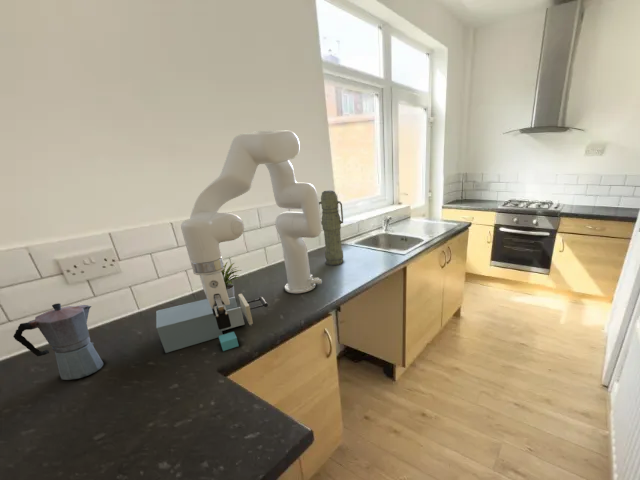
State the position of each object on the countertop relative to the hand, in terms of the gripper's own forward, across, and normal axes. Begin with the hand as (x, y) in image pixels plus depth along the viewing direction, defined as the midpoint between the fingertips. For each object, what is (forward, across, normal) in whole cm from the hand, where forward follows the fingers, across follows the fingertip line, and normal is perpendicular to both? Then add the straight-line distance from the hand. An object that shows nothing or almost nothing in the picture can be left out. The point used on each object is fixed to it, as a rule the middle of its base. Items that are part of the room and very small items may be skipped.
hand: (222, 320), depth 92 cm
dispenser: (+9, +13, +8) cm, 18 cm away
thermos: (+8, +49, -58) cm, 76 cm away
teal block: (+9, 0, 0) cm, 9 cm away
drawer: (+8, +13, -5) cm, 16 cm away
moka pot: (+9, +10, +35) cm, 38 cm away
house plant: (+9, +31, -4) cm, 33 cm away
